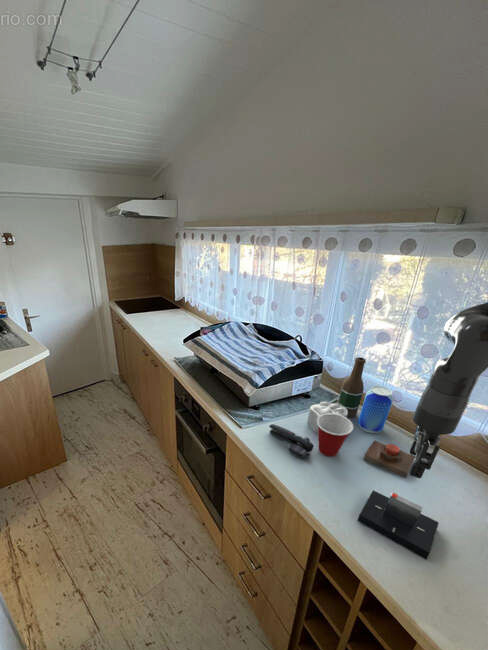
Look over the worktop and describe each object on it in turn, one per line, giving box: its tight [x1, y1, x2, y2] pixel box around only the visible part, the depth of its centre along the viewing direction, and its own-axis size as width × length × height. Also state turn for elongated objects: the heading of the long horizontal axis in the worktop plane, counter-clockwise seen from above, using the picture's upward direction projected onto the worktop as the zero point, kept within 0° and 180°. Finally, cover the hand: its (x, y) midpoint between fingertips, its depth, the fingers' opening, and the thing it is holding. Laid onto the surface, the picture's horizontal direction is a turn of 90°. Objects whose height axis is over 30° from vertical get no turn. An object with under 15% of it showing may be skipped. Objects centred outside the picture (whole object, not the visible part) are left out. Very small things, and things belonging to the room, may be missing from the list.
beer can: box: [357, 385, 394, 434], centre depth 111 cm, size 8×8×16 cm
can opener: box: [269, 423, 315, 459], centre depth 105 cm, size 18×7×6 cm, turn 32°
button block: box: [362, 440, 416, 479], centre depth 98 cm, size 12×10×4 cm
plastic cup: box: [317, 413, 354, 458], centre depth 100 cm, size 11×11×12 cm
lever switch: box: [356, 489, 440, 560], centre depth 77 cm, size 15×11×3 cm
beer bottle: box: [337, 356, 367, 419], centre depth 117 cm, size 8×8×24 cm
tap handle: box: [384, 492, 424, 528], centre depth 75 cm, size 6×2×6 cm, turn 46°
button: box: [385, 443, 401, 456], centre depth 97 cm, size 4×4×2 cm
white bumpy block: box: [306, 401, 348, 435], centre depth 113 cm, size 10×13×9 cm
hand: (414, 464), depth 72 cm, fingers open, 8 cm apart
